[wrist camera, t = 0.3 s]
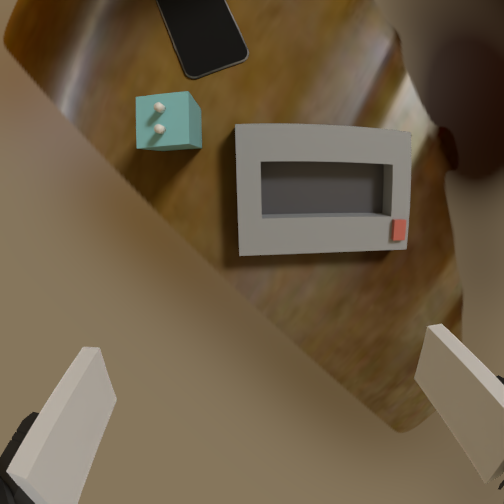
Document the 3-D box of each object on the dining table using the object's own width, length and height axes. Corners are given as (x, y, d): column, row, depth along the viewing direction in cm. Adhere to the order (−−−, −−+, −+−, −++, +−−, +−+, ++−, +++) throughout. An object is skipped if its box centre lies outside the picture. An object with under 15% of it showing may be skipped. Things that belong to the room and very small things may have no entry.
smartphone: (209, -33, 28) (252, 58, 32) (209, -30, 28) (252, 60, 32) (150, -12, 28) (187, 81, 32) (152, -10, 29) (188, 82, 33)
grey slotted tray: (235, 127, 34) (235, 123, 31) (399, 133, 35) (413, 131, 32) (239, 248, 38) (239, 257, 35) (396, 243, 39) (408, 250, 35)
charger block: (161, 112, 33) (130, 94, 22) (201, 109, 33) (186, 87, 22) (162, 151, 34) (131, 148, 23) (201, 148, 35) (186, 142, 24)
